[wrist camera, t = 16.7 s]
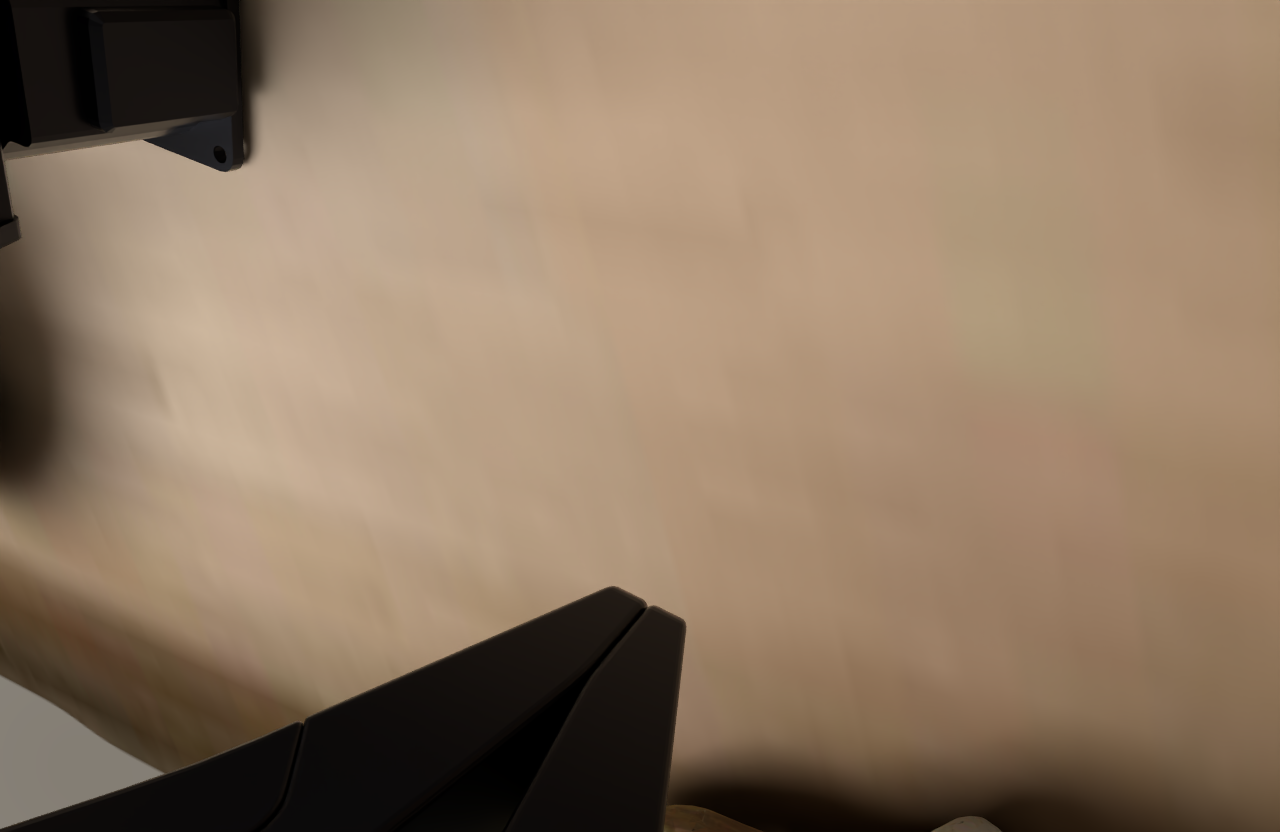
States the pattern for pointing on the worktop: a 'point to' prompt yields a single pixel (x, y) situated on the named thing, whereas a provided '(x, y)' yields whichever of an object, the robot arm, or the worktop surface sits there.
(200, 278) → the worktop surface
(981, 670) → the worktop surface
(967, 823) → the ceramic sculpture
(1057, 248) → the worktop surface
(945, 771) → the worktop surface
